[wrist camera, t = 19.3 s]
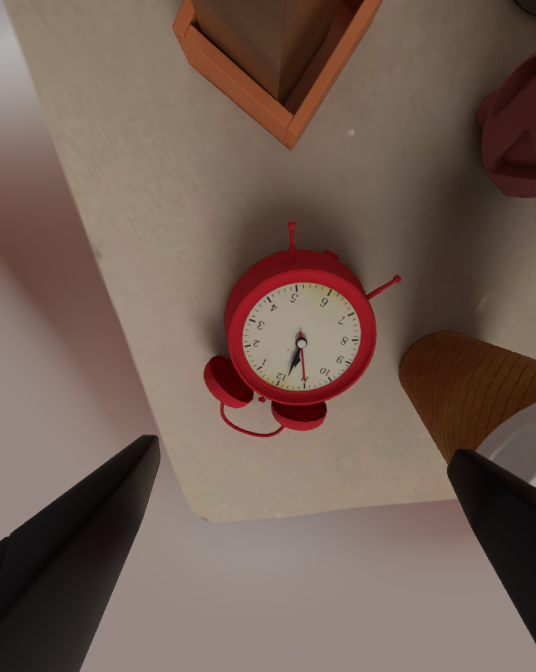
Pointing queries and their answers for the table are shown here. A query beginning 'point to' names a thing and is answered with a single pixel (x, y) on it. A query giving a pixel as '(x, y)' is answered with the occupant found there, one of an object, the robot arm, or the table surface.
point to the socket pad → (292, 118)
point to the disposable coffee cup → (475, 399)
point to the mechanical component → (511, 132)
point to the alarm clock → (294, 337)
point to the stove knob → (528, 5)
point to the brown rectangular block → (268, 37)
